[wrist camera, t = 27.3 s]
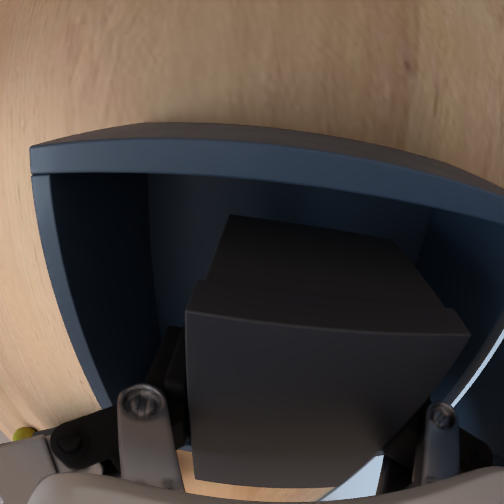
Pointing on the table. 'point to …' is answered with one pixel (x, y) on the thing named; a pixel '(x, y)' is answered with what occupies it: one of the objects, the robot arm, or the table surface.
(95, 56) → the table surface
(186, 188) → the storage box
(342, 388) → the dark grey rectangular block
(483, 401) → the box lid
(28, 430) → the fruit
